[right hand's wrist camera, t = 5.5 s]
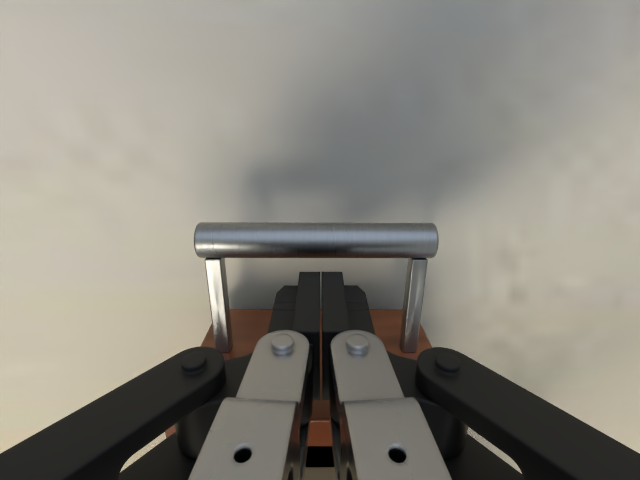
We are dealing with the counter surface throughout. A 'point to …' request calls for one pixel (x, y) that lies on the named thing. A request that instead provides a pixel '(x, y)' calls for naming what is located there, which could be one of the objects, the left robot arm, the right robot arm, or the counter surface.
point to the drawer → (320, 242)
